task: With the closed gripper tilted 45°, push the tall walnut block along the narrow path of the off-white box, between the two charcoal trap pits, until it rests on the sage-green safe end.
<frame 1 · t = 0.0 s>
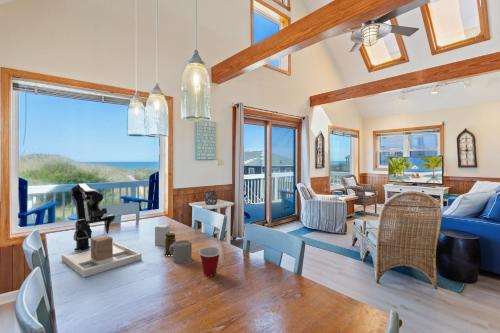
hand: (98, 235, 140), 15 cm above the table, tool tilted 35°, fingers open, 9 cm apart
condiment: (170, 254, 152), on the table
supplement box: (162, 244, 170), on the table
coffee mug: (180, 259, 144), on the table
trap box: (101, 260, 143), on the table
walnut block: (101, 257, 143), point 2 cm above the table, touching trap box
plastic cup: (210, 274, 125), on the table
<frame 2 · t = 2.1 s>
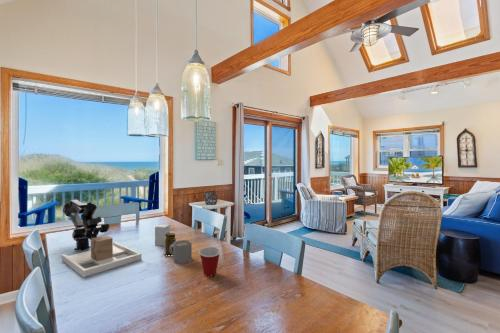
hand: (95, 242, 148), 8 cm above the table, tool tilted 45°, fingers closed
nothing on the table moved.
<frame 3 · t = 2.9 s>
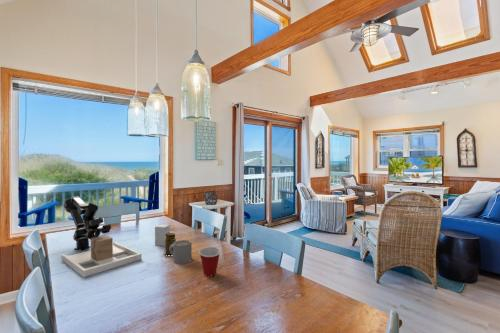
hand: (97, 243, 147), 8 cm above the table, tool tilted 45°, fingers closed
nothing on the table moved.
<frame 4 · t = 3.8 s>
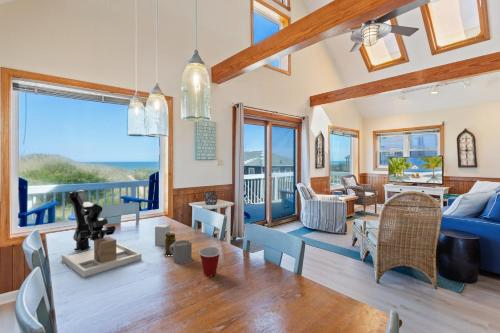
hand: (101, 245, 143), 8 cm above the table, tool tilted 45°, fingers closed, pressing on walnut block
walnut block: (105, 259, 140), point 2 cm above the table, touching gripper, trap box
everything else where it was.
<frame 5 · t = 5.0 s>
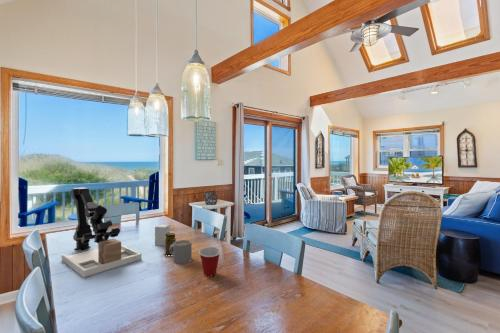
hand: (106, 248, 139), 8 cm above the table, tool tilted 45°, fingers closed
walnut block: (109, 262, 136), point 2 cm above the table, touching trap box
everything else where it was.
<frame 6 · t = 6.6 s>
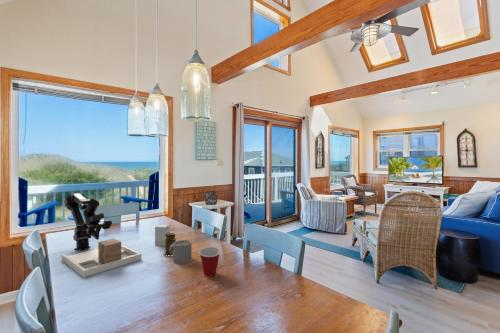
hand: (97, 239, 146), 11 cm above the table, tool tilted 45°, fingers closed
nothing on the table moved.
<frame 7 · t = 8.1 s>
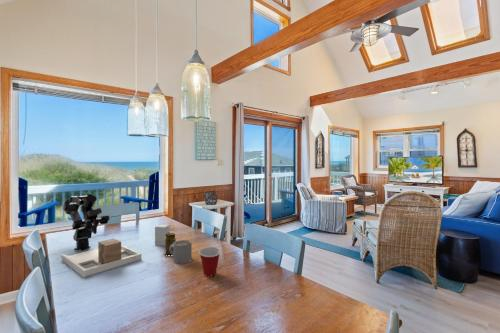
hand: (95, 233, 148), 14 cm above the table, tool tilted 45°, fingers closed
nothing on the table moved.
at the end: walnut block inside the target area (2.0 cm from its centre), point 1.6 cm above the table; walnut block tilted 0°; walnut block moved 10.8 cm from its start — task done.
